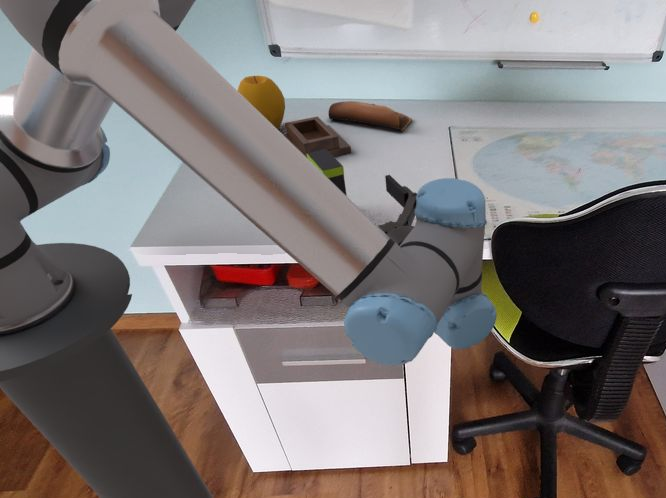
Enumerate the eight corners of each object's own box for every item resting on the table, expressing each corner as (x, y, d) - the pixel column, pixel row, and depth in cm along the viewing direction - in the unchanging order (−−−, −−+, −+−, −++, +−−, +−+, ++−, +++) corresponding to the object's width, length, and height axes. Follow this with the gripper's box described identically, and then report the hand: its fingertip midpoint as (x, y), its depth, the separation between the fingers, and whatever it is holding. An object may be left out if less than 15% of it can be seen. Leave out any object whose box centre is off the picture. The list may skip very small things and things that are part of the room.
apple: (288, 120, 125) (277, 65, 117) (292, 137, 119) (281, 82, 111) (244, 124, 123) (230, 69, 114) (246, 142, 117) (231, 85, 108)
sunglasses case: (413, 117, 127) (407, 97, 121) (405, 142, 126) (398, 123, 120) (344, 106, 131) (334, 86, 124) (335, 131, 129) (324, 112, 123)
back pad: (332, 229, 95) (322, 170, 87) (317, 210, 99) (306, 152, 91) (351, 223, 96) (343, 165, 88) (335, 205, 100) (326, 148, 92)
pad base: (297, 165, 110) (293, 146, 107) (277, 142, 117) (273, 124, 114) (351, 152, 115) (349, 134, 112) (329, 131, 122) (326, 113, 119)
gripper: (330, 314, 71) (277, 235, 83) (487, 258, 80) (419, 194, 93) (321, 268, 65) (265, 191, 78) (490, 214, 75) (417, 153, 87)
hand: (349, 193), depth 85 cm, fingers open, 13 cm apart
